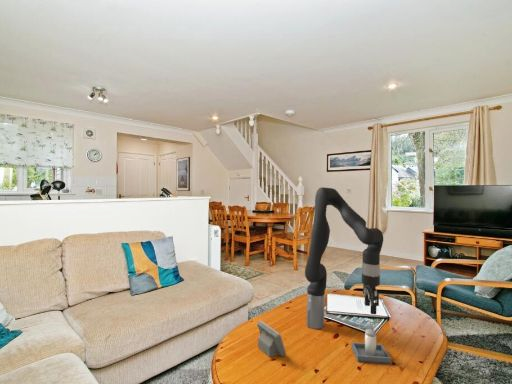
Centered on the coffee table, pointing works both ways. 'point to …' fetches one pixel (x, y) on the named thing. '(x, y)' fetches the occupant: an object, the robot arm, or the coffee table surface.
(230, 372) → the coffee table surface
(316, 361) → the coffee table surface
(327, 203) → the robot arm
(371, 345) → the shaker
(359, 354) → the tray
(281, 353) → the digital clock
